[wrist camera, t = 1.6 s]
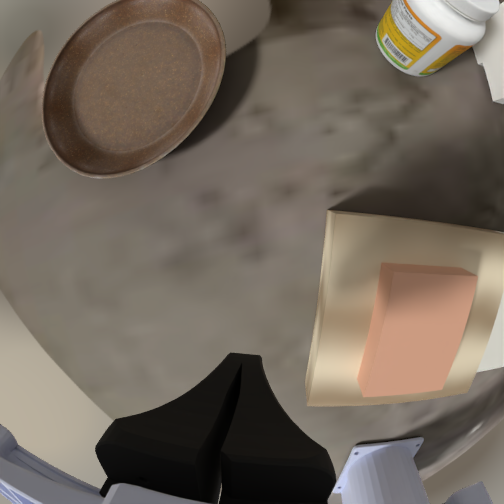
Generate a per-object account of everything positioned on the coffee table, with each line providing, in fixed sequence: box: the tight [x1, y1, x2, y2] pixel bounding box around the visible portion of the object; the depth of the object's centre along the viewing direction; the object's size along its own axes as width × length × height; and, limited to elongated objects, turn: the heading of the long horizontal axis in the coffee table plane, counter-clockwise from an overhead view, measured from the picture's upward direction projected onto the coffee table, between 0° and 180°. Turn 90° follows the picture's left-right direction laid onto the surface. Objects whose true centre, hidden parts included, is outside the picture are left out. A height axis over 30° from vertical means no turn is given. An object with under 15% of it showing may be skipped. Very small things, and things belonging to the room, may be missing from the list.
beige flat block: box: [305, 210, 504, 406], centre depth 18 cm, size 13×14×3 cm
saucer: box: [42, 0, 226, 178], centre depth 16 cm, size 15×15×3 cm
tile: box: [357, 262, 478, 397], centre depth 15 cm, size 8×6×2 cm
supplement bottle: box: [376, 0, 500, 76], centre depth 10 cm, size 5×5×10 cm
